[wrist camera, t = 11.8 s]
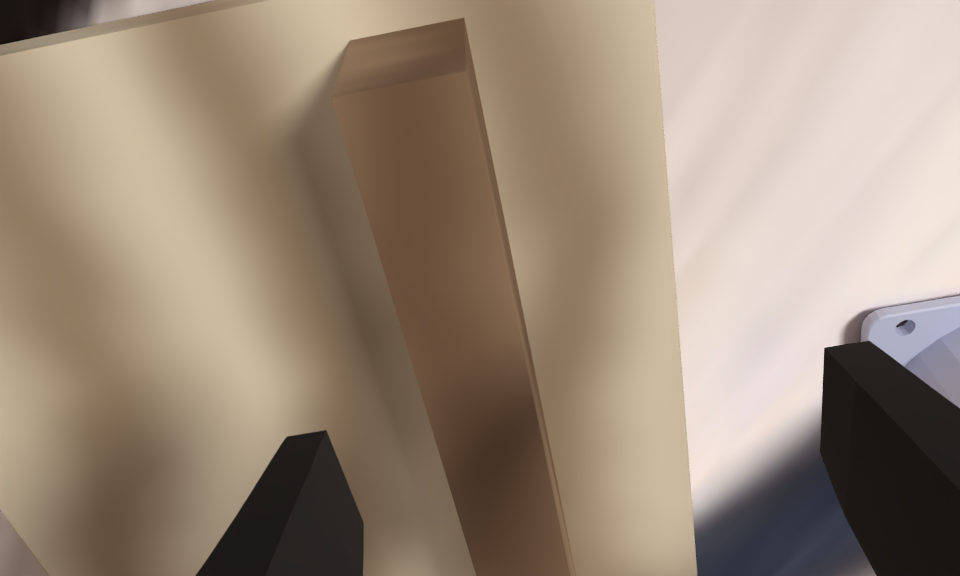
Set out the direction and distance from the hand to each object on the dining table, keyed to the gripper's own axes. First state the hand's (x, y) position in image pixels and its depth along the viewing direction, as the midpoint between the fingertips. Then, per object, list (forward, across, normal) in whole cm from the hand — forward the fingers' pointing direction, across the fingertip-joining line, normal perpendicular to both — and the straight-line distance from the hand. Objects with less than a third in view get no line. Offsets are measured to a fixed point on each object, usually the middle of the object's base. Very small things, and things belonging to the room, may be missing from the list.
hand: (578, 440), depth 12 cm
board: (+9, +7, +11) cm, 16 cm away
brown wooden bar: (+8, +2, +5) cm, 10 cm away
